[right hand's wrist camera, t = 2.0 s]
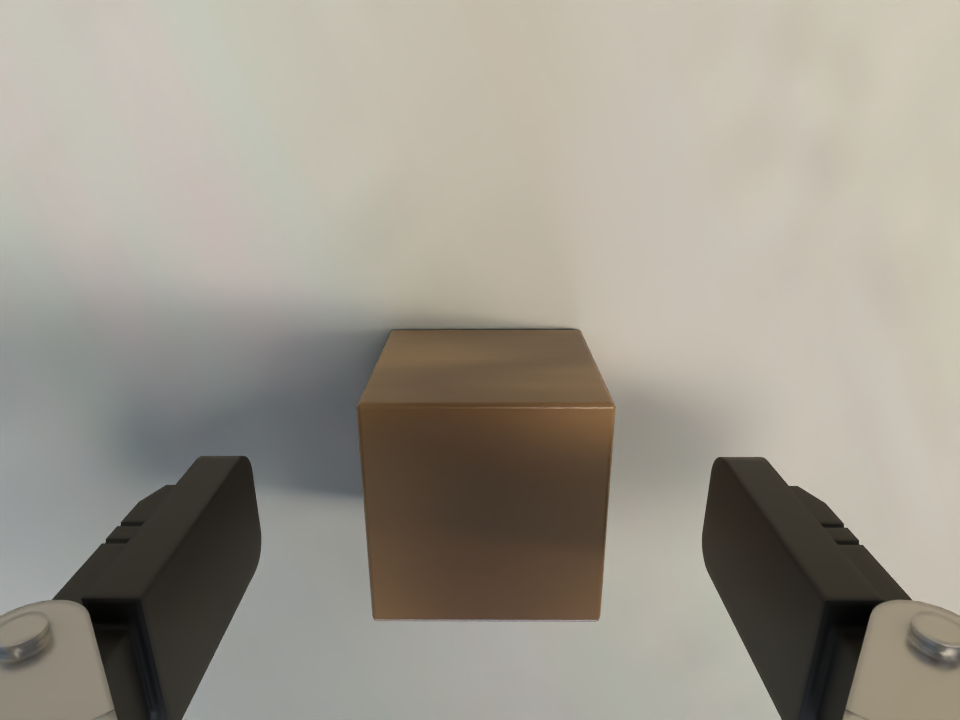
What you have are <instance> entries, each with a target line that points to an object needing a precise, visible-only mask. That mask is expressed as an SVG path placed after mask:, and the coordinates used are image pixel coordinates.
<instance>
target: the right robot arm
mask: <svg viewBox="0 0 960 720" xmlns="http://www.w3.org/2000/svg"><path fill="white" fill-rule="evenodd" d="M702 550H703V557H704V562H705V566H706V569H707V571H708V573H709V575H710V577H711V579H712V581H713V583H714V585H715V587H716V589H717V591H718V593H719V595H720V597H721V599H722V601H723V603H724V605H725V607H726V609H727V611H728V613H729V615H730V617H731V619H732V621H733V623H734V625H735V627H736V629H737V631H738V633H739V635H740V637H741V639H742V641H743V643H744V645H745V647H746V649H747V651H748V653H749V655H750V657H751V659H752V661H753V663H754V665H755V667H756V669H757V671H758V673H759V675H760V677H761V679H762V681H763V683H764V685H765V687H766V689H767V691H768V693H769V695H770V697H771V699H772V701H773V703H774V705H775V707H776V709H777V711H778V713H779V715H780V717H781V719H782V720H960V616H959V615H957V614H955V613H953V612H951V611H948V610H946V609H943V608H941V607H938V606H935V605H931V604H928V603H923V602H919V601H913V600H912V599H911V598H910V597H909V596H908V595H907V594H906V593H905V592H904V590H903V589H902V588H901V587H900V586H899V585H898V584H897V583H896V581H895V580H894V579H893V578H892V577H891V576H890V575H889V574H888V573H887V571H886V570H885V569H884V568H883V567H882V566H881V565H880V564H879V563H878V561H877V560H876V559H875V558H874V557H873V556H872V555H871V554H870V553H869V551H868V550H867V549H866V548H865V547H864V546H863V545H859V540H858V539H857V538H856V537H855V536H854V535H853V534H852V532H851V531H850V530H849V529H848V528H844V524H843V522H842V521H841V520H840V519H839V518H838V517H837V516H836V515H835V514H834V512H833V511H832V510H831V509H830V508H829V507H828V506H827V505H826V503H824V502H822V501H821V500H819V499H818V498H816V497H814V496H813V495H811V494H809V493H808V492H806V491H805V490H803V489H801V488H800V487H798V486H788V485H787V483H786V482H785V481H784V480H783V479H782V477H781V476H780V475H779V474H778V473H777V471H776V470H775V469H774V468H773V467H772V466H771V464H770V463H769V462H768V461H767V460H766V459H765V458H763V457H719V458H717V459H716V460H715V461H714V463H713V466H712V471H711V477H710V484H709V491H708V498H707V505H706V512H705V519H704V526H703V533H702ZM260 551H261V529H260V522H259V515H258V508H257V501H256V494H255V487H254V480H253V473H252V467H251V463H250V461H249V459H248V458H247V457H245V456H201V457H199V458H198V459H197V460H196V461H195V462H194V463H193V464H192V466H191V467H190V468H189V469H188V470H187V472H186V473H185V474H184V475H183V476H182V478H181V479H180V480H179V481H178V482H177V484H176V485H166V486H164V487H162V488H161V489H159V490H157V491H156V492H154V493H153V494H151V495H149V496H148V497H146V498H145V499H143V500H141V501H140V502H138V504H137V505H136V506H135V507H134V508H133V509H132V510H131V511H130V513H129V514H128V515H127V516H126V517H125V518H124V519H123V520H122V522H121V526H117V527H116V528H115V529H114V531H113V532H112V533H111V534H110V535H109V536H108V537H107V538H106V543H105V544H101V545H100V546H99V547H98V549H97V550H96V551H95V552H94V553H93V554H92V555H91V556H90V558H89V559H88V560H87V561H86V562H85V563H84V564H83V565H82V567H81V568H80V569H79V570H78V571H77V572H76V573H75V574H74V576H73V577H72V578H71V579H70V580H69V581H68V582H67V583H66V585H65V586H64V587H63V588H62V589H61V590H60V591H59V592H58V594H57V595H56V596H55V597H54V598H53V599H52V600H48V601H41V602H37V603H32V604H29V605H25V606H22V607H19V608H17V609H14V610H12V611H9V612H7V613H5V614H3V615H1V616H0V720H182V718H183V716H184V714H185V712H186V710H187V708H188V706H189V704H190V702H191V700H192V698H193V696H194V694H195V692H196V690H197V688H198V686H199V684H200V682H201V680H202V678H203V676H204V674H205V672H206V670H207V668H208V666H209V664H210V662H211V660H212V658H213V656H214V653H215V651H216V649H217V647H218V645H219V643H220V641H221V639H222V637H223V635H224V633H225V631H226V629H227V627H228V625H229V623H230V621H231V619H232V617H233V615H234V613H235V611H236V609H237V607H238V605H239V603H240V601H241V599H242V597H243V595H244V593H245V591H246V589H247V587H248V585H249V583H250V581H251V579H252V577H253V575H254V573H255V571H256V568H257V565H258V562H259V558H260Z"/></svg>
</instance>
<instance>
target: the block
mask: <svg viewBox="0 0 960 720" xmlns="http://www.w3.org/2000/svg"><path fill="white" fill-rule="evenodd" d="M356 409H357V422H358V435H359V448H360V461H361V473H362V486H363V499H364V512H365V525H366V538H367V551H368V564H369V577H370V590H371V603H372V615H373V618H374V620H376V621H598V620H599V618H600V612H601V598H602V584H603V570H604V557H605V543H606V529H607V515H608V502H609V488H610V474H611V461H612V447H613V433H614V419H615V405H614V402H613V400H612V398H611V396H610V394H609V391H608V389H607V387H606V385H605V383H604V381H603V378H602V376H601V374H600V372H599V370H598V367H597V365H596V363H595V361H594V359H593V357H592V354H591V352H590V350H589V348H588V346H587V344H586V341H585V339H584V337H583V335H582V333H581V331H580V330H393V331H391V333H390V335H389V337H388V339H387V341H386V343H385V346H384V348H383V350H382V352H381V354H380V356H379V359H378V361H377V363H376V365H375V367H374V369H373V372H372V374H371V376H370V378H369V380H368V382H367V385H366V387H365V389H364V391H363V393H362V395H361V398H360V400H359V402H358V404H357V407H356Z"/></svg>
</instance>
